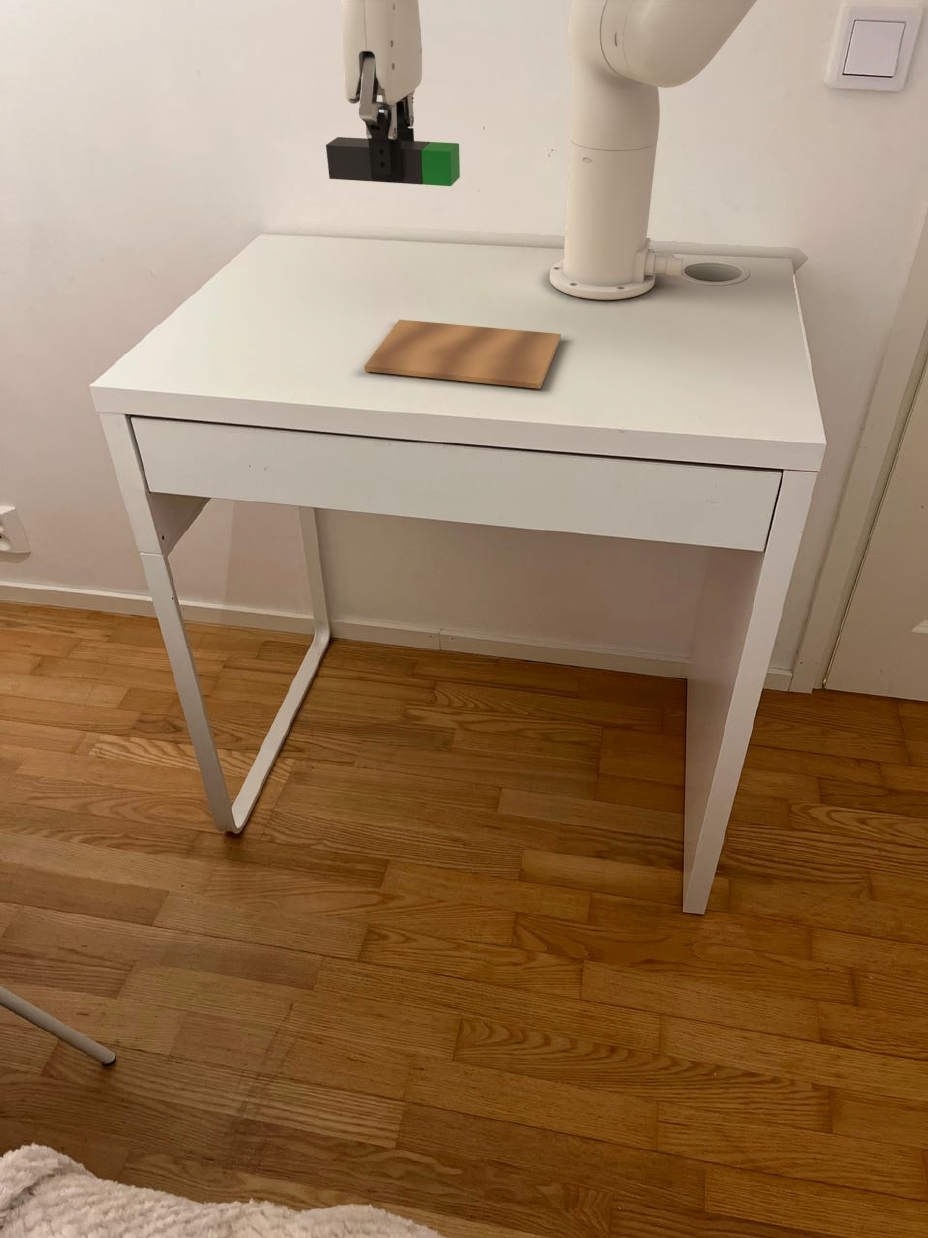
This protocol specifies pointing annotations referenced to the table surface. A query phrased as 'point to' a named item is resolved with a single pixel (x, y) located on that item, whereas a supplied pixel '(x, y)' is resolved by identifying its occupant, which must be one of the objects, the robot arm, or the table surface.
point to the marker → (418, 161)
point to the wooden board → (466, 353)
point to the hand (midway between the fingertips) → (393, 173)
